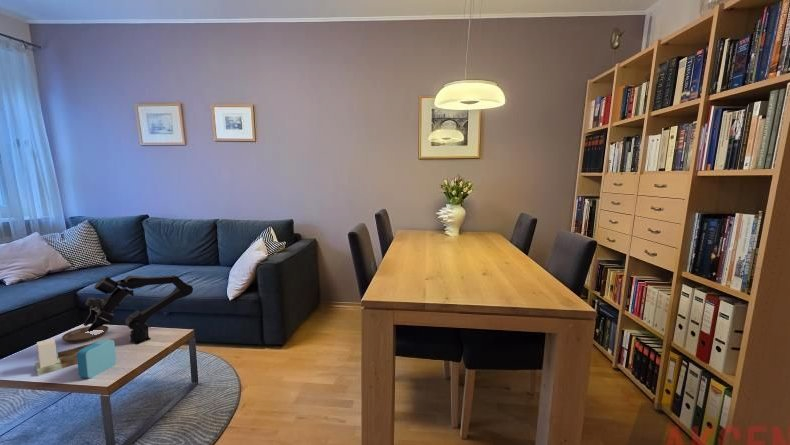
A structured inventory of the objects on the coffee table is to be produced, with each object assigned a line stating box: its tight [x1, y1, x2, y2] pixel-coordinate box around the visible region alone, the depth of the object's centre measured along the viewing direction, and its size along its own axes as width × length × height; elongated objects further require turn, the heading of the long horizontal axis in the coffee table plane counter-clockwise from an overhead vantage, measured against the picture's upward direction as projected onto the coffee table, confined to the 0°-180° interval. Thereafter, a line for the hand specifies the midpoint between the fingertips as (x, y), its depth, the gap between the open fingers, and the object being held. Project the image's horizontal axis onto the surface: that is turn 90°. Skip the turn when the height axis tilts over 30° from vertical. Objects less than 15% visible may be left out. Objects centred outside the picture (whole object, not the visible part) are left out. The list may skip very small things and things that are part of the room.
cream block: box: [36, 337, 58, 368], centre depth 140 cm, size 5×5×10 cm
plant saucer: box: [61, 324, 109, 344], centre depth 169 cm, size 18×18×3 cm
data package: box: [77, 338, 117, 379], centre depth 138 cm, size 12×4×12 cm, turn 173°
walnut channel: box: [34, 341, 97, 377], centre depth 147 cm, size 23×10×4 cm, turn 142°
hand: (86, 328), depth 149 cm, fingers open, 9 cm apart
